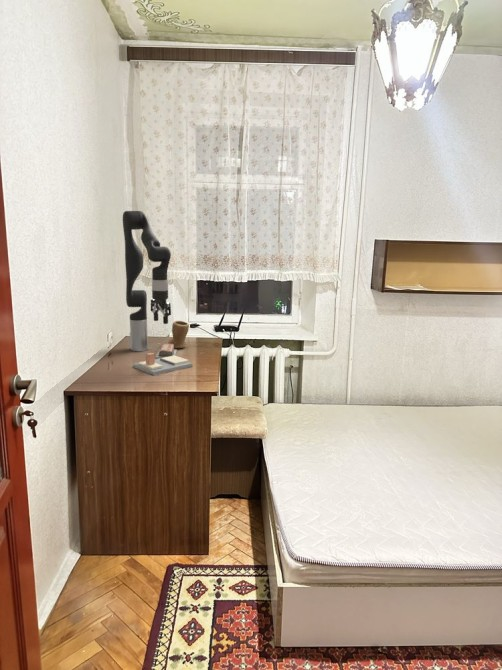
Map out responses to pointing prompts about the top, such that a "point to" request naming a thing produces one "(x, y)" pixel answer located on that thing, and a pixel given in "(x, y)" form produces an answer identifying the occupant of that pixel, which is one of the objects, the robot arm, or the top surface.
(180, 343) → the brown hollow piece
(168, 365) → the board
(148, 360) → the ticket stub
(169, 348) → the packaged product
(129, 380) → the top surface
